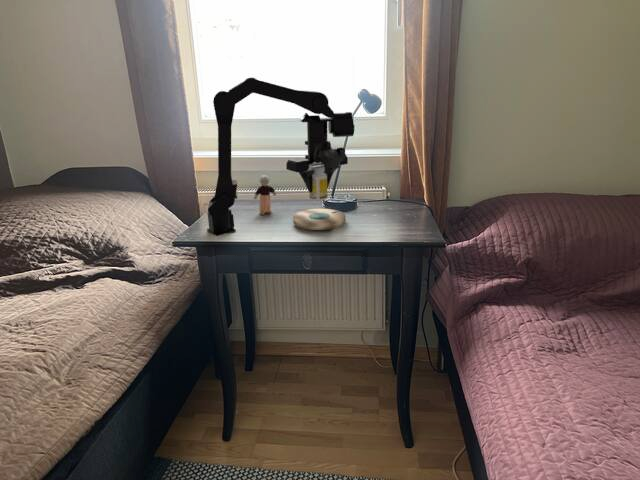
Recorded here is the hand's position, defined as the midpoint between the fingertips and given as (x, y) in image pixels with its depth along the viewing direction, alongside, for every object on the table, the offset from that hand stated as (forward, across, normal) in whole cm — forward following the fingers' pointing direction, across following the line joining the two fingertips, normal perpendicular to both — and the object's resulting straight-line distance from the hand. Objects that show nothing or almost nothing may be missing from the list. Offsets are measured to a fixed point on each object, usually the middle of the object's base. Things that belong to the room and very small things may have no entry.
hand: (318, 190), depth 137 cm
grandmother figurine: (+11, -6, +21) cm, 24 cm away
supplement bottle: (+3, 0, 0) cm, 3 cm away
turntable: (+10, 0, 0) cm, 11 cm away
